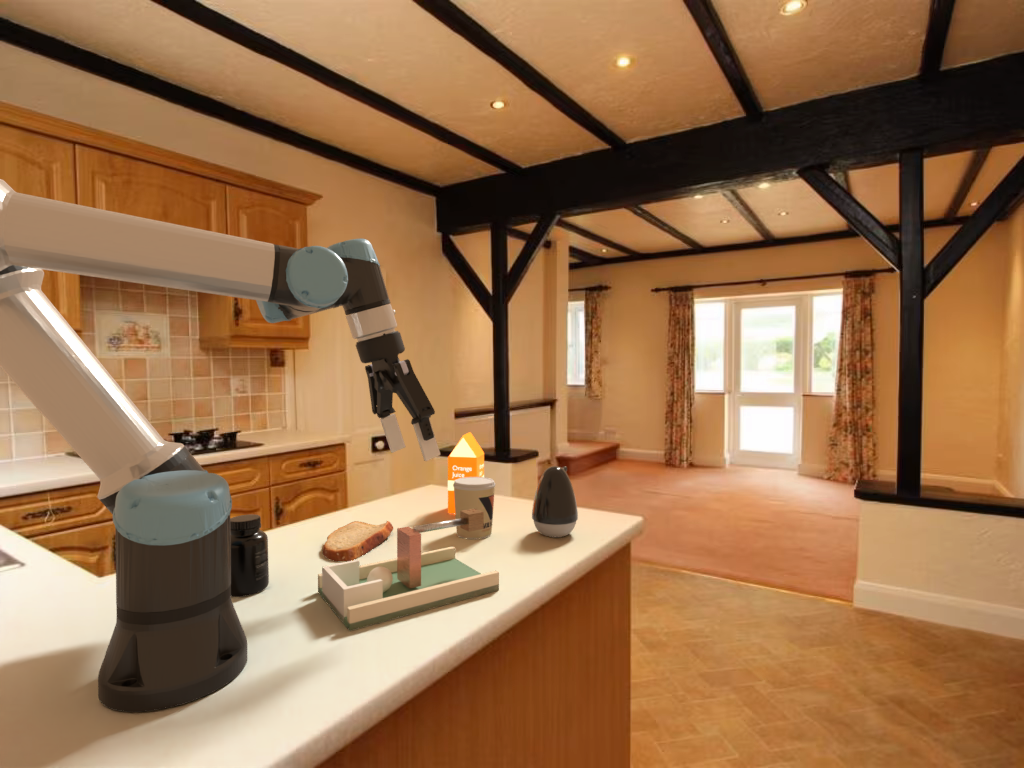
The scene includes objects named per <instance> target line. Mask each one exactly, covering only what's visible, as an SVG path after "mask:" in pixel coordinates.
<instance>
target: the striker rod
mask: <svg viewBox="0 0 1024 768" xmlns="http://www.w3.org/2000/svg"><path fill="white" fill-rule="evenodd" d="M456 526H460V528H462V529H464V530H466V531H468V532H470V531H475V530H481V529H484V512H482V511H480V510H477V509H469V510H463V511H460V519H456V518H454V519H449V520H444V521H437V522H433V523H427V524H422V525H421V524H420V525H415V526H413V527H412V528H411V527H410V526H402V527H397V528H396V530H397V531H396V534H397V535H396V542H397V543H396V545H397V546H396V548H397V549H396V554H397V555H396V556H397V557H396V558H397V579H398V580H399V581H401V582H402V583H403V584H404V585H406V586H407V587H408V588H409V589H410V588H414V587H419V586H421V553H422V533H427V532H431V531H432V532H433V531H438V530H443V529H449V528H454V527H455V528H456Z"/></svg>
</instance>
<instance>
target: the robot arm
mask: <svg viewBox="0 0 1024 768" xmlns="http://www.w3.org/2000/svg"><path fill="white" fill-rule="evenodd" d="M44 270H45V271H51V272H52V271H53V272H59V273H66V274H72V275H77V276H78V275H80V276H85V277H91V278H92V277H94V278H99V279H100V278H101V279H105V280H106V279H108V280H114V281H121V282H127V283H135V284H141V285H143V284H144V285H148V286H155V287H161V288H162V287H163V288H170V289H178V290H185V291H191V292H198V293H205V294H212V295H218V296H225V297H226V296H227V297H234V298H239V299H246V300H253V301H255V302H256V304H257V307H258V309H259V311H260V312H259V313H261V315H262V317H263V319H264V320H265V322H267V323H269V324H276V323H280V322H285V321H286V322H290V321H292V320H293V319H297V318H302V317H306V316H309V315H312V314H317V313H319V312H323V311H327V310H330V309H337V308H339V307H342V309H343V311H344V314H345V319H346V321H347V324H348V328H349V331H350V333H351V338H353V339H354V340H355V339H356V340H357V342H356V343H355V347H356V348H355V349H356V351H357V354H358V357H359V360H360V363H362V364H368V365H365V367H364V369H365V373H366V376H367V381H368V389H369V395H370V396H369V397H370V398H369V399H370V404H371V411H372V414H373V415H377V417H378V419H379V421H380V424H381V426H382V430H383V433H384V436H385V437H386V441H387V444H388V447H389V451H390V453H396V452H398V451H401V450H402V449H405V448H406V444H405V440H404V438H403V435H402V431H401V428H400V425H399V422H398V419H397V416H396V410H395V408H394V407H393V400H394V399H393V396H394V394H396V395H397V397H398V398H399V400H400V402H401V403H402V405H403V406H404V407H405V409H406V410H407V412H408V413H409V415H410V416H411V417H412V418H411V421H410V424H411V425H413V429H414V433H415V437H416V438H417V441H418V445H419V448H420V451H421V455H422V458H423V461H425V462H428V461H430V460H432V459H435V458H438V457H439V456H441V451H440V449H439V448H440V447H439V445H438V442H437V438H436V436H435V433H434V430H433V429H434V428H433V426H432V422H431V419H430V418H431V417H432V416H433V415H435V414H436V411H435V408H434V407H433V405H432V403H431V401H430V400H429V398H428V396H427V394H426V391H424V388H423V386H422V385H421V383H420V381H419V379H418V377H417V375H416V374H415V373H416V372H414V369H413V366H412V364H411V361H410V359H408V358H407V359H403V360H402V361H401V360H400V357H399V355H401V354H402V353H404V352H405V349H406V347H405V345H404V341H403V338H402V335H401V332H400V331H399V330H396V328H397V327H398V323H397V320H396V317H395V315H396V310H395V309H393V307H392V304H391V300H390V297H389V294H388V290H387V287H386V283H385V280H384V276H383V272H382V270H381V265H380V261H379V260H378V257H377V254H376V251H375V249H374V248H373V244H372V243H371V242H370V240H368V239H365V238H353V239H347V240H344V241H340V242H336V243H333V244H331V245H329V246H328V247H324V246H321V245H310V246H304V247H301V248H298V247H292V246H287V245H282V244H281V245H279V244H274V243H271V242H265V241H261V240H260V241H259V240H256V239H252V238H247V237H246V238H245V237H241V236H236V235H232V234H231V235H230V234H226V233H220V232H216V231H211V230H206V229H201V228H196V227H192V226H186V225H182V224H176V223H172V222H167V221H161V220H156V219H151V218H147V217H146V218H145V217H141V216H136V215H131V214H127V213H121V212H117V211H112V210H106V209H103V208H95V207H91V206H87V205H82V204H76V203H73V202H66V201H62V200H56V199H51V198H46V197H42V196H36V195H31V194H27V193H21V192H17V191H15V190H14V189H13V188H12V187H11V185H9V184H8V183H7V182H6V181H5V180H4V179H1V178H0V368H1V370H2V371H3V372H4V373H5V374H6V376H7V377H8V378H9V379H10V380H11V381H12V382H13V383H14V384H15V386H16V387H17V388H19V390H20V391H21V392H22V393H23V395H25V397H27V399H28V400H29V401H30V402H31V404H33V406H34V407H35V408H36V409H37V410H38V411H39V412H40V413H41V415H42V416H43V417H44V418H45V419H46V420H47V421H48V423H49V424H50V425H51V426H52V427H53V428H54V429H55V430H56V432H57V433H58V434H59V435H60V436H61V437H62V438H63V440H64V441H65V442H66V443H67V444H68V445H69V446H70V448H71V449H73V451H74V452H75V453H76V454H77V455H78V456H79V458H80V459H81V460H82V461H83V462H84V463H85V465H87V466H88V468H89V469H90V470H91V471H92V472H93V474H95V475H96V477H97V478H98V479H99V481H100V482H99V484H100V486H99V489H98V493H97V497H96V498H97V500H99V501H100V502H101V504H103V505H104V507H105V508H106V509H107V510H108V511H109V512H110V513H111V515H112V522H113V524H114V528H115V531H114V532H115V590H116V591H115V593H116V594H115V596H116V597H115V598H116V599H115V601H116V602H115V604H116V622H115V626H114V629H113V631H112V635H111V636H110V637H111V638H110V639H109V643H108V645H107V648H106V651H105V653H104V656H103V660H102V663H101V666H100V669H99V671H98V677H97V691H98V692H97V695H98V696H97V697H98V699H99V702H100V703H101V704H102V705H103V706H105V707H106V708H108V709H111V710H115V711H119V712H127V713H131V712H133V713H140V712H142V713H143V712H152V711H153V712H154V711H158V710H164V709H168V708H173V707H177V706H181V705H183V704H186V703H189V702H192V701H196V700H199V699H200V698H202V697H205V696H207V695H210V694H212V693H214V692H215V691H218V690H219V689H221V688H223V687H225V686H226V685H227V684H229V683H230V682H231V681H233V680H234V679H235V678H236V677H237V676H239V675H240V674H241V672H242V671H243V670H244V668H245V667H246V665H247V663H248V662H247V661H248V639H247V636H246V633H245V631H244V629H243V625H242V624H241V621H240V618H239V616H238V614H237V611H236V608H235V606H234V603H233V601H232V596H231V540H230V518H231V511H232V509H233V499H232V496H231V492H230V485H229V483H228V481H227V480H226V479H225V478H224V477H223V476H221V475H220V474H217V473H213V472H209V471H208V470H206V469H204V468H203V467H202V466H201V465H200V463H199V462H198V460H197V459H196V458H195V457H194V456H193V455H192V453H191V452H190V451H189V450H188V448H187V447H186V446H185V445H184V443H181V442H173V441H167V440H165V439H164V438H163V437H162V435H161V434H159V432H158V431H157V429H156V428H155V427H154V426H153V425H152V424H151V422H150V421H149V420H148V419H147V417H146V416H145V415H144V413H142V411H141V410H140V409H139V407H137V405H136V404H135V403H134V402H133V400H132V399H131V397H129V396H128V394H127V393H126V392H125V390H124V389H123V388H122V387H121V386H120V384H119V383H118V382H117V381H116V380H115V379H114V377H113V376H112V375H111V374H110V372H109V371H108V370H107V369H106V368H105V366H104V365H103V364H102V362H100V360H99V359H98V358H97V357H96V355H95V353H93V352H92V350H91V349H90V348H89V347H88V346H87V344H86V343H85V342H84V341H83V339H82V338H81V337H80V336H79V335H78V333H77V332H76V331H75V329H73V327H72V326H71V325H70V324H69V322H68V321H67V319H65V317H64V316H63V315H62V313H60V312H59V310H58V308H56V307H55V306H54V304H53V303H52V302H51V300H50V299H49V298H48V297H47V295H46V294H45V293H44V292H43V291H42V285H43V282H44V281H43V280H44V278H45V272H44ZM370 363H371V364H370Z"/></svg>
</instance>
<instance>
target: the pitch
mask: <svg viewBox="0 0 1024 768" xmlns="http://www.w3.org/2000/svg"><path fill="white" fill-rule="evenodd" d="M376 567H385V568H387V569H389V570H390V572H391V573H392V577H393V581H392V585H391V586H390V588H389V589H388V590H387V591H385V592H383V581H382V580H381V579H379V580H374V581H370V582H367V577H368V575H369V573H370V572H371V571H372V570H373V569H374V568H376ZM497 591H500V572H499V571H498V570H492V571H488V572H484V573H481V572H479V571H477V570H475V569H474V568H472V567H471V566H469V565H468V564H466V563H463V562H462V561H461V560H458V559H457V558H456V547H455V546H449V547H442V548H439V549H434V550H429V551H425V552H421V586H419V587H414V588H410V589H409V588H408V587H407V586H406V585H404V584H403V583H402V582H401V581H399V580H398V579H397V557H394V558H390V559H385V560H380V561H376V562H369V563H366V564H361V565H360V560H359V559H355V560H353V561H347V562H339V563H334V564H329V565H325V566H322V567H321V573H318V574H317V593H318V592H319V593H320V594H319V593H318V594H319V596H320V597H321V596H322V597H323V598H324V599H323V598H322V597H321V598H322V599H323V600H324V602H325V603H326V602H327V603H328V604H327V603H326V604H327V605H328V607H331V608H332V609H333V610H332V609H331V608H330V609H331V610H332V611H333V613H334V614H335V613H336V614H335V615H336V616H337V617H338V619H339V620H340V621H341V622H342V624H343V625H344V626H345V627H346V628H347V630H348V631H350V632H351V631H354V630H355V631H356V630H358V629H362V628H365V627H369V626H373V625H377V624H380V623H383V622H388V621H391V620H395V619H398V618H401V617H405V616H410V615H413V614H417V613H420V612H424V611H427V610H431V609H435V608H440V607H442V606H446V605H449V604H454V603H458V602H461V601H464V600H468V599H472V598H475V597H479V596H483V595H487V594H490V593H494V592H497Z"/></svg>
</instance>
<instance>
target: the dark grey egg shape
mask: <svg viewBox="0 0 1024 768" xmlns="http://www.w3.org/2000/svg"><path fill="white" fill-rule="evenodd" d="M567 471H568V467H567V466H562V467H561V466H557V465H554V466H549V467H548V468H546V469H545V470H544V471H543V473H542V475H541V476H540V479H539V481H538V483H537V486H536V489H535V494H534V497H533V498H534V499H533V504H532V509H531V510H532V511H531V519H532V520H533V524H534V526H535V529H536V530H537V531H538V532H539V533H540V534H541V535H543V536H546V537H548V536H549V538H563V537H566V536H568V535H569V534H571V532H572V531H573V530H574V529H575V526H576V524H577V521H578V520H579V515H578V513H579V511H578V506H577V500H576V499H577V498H576V495H575V491H574V488H573V485H572V481H571V479H570V477H569V474H568V473H567ZM562 536H563V537H562Z"/></svg>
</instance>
